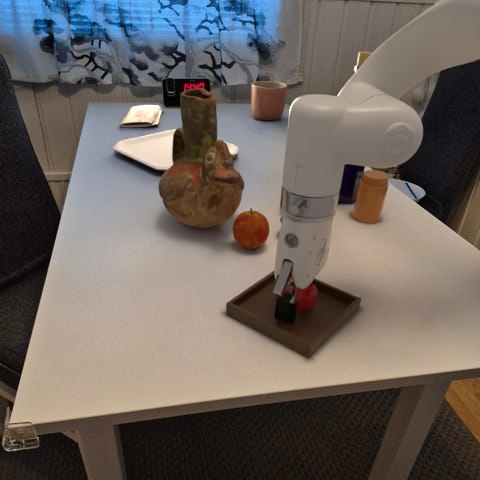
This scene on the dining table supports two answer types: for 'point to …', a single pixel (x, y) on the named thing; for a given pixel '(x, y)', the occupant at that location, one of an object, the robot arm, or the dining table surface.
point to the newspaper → (142, 116)
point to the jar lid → (304, 296)
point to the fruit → (250, 229)
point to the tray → (307, 321)
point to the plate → (154, 149)
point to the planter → (268, 99)
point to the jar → (371, 196)
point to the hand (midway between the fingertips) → (294, 307)
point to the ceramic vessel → (200, 167)
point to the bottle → (351, 172)
